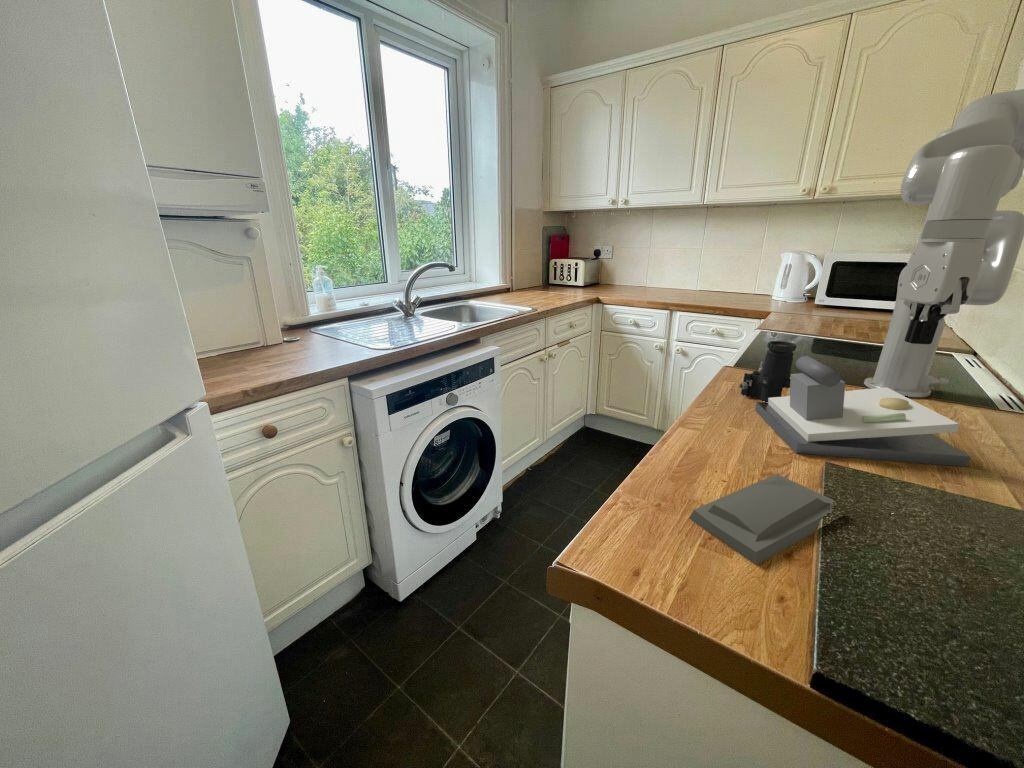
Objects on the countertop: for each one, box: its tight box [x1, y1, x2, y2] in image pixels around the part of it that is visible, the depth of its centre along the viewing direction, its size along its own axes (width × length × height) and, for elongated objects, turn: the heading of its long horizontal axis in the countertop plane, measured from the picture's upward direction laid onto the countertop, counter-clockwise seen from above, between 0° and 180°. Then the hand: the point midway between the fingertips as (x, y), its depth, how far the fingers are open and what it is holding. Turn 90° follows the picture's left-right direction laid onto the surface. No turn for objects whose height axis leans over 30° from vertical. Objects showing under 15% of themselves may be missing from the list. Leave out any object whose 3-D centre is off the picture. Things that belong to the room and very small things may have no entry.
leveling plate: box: [768, 355, 959, 442], centre depth 78 cm, size 22×18×12 cm
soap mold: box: [688, 473, 836, 565], centre depth 57 cm, size 10×20×4 cm, turn 118°
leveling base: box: [754, 401, 971, 468], centre depth 80 cm, size 26×20×2 cm
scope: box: [738, 340, 797, 402], centre depth 96 cm, size 8×14×10 cm
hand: (917, 342), depth 73 cm, fingers closed
